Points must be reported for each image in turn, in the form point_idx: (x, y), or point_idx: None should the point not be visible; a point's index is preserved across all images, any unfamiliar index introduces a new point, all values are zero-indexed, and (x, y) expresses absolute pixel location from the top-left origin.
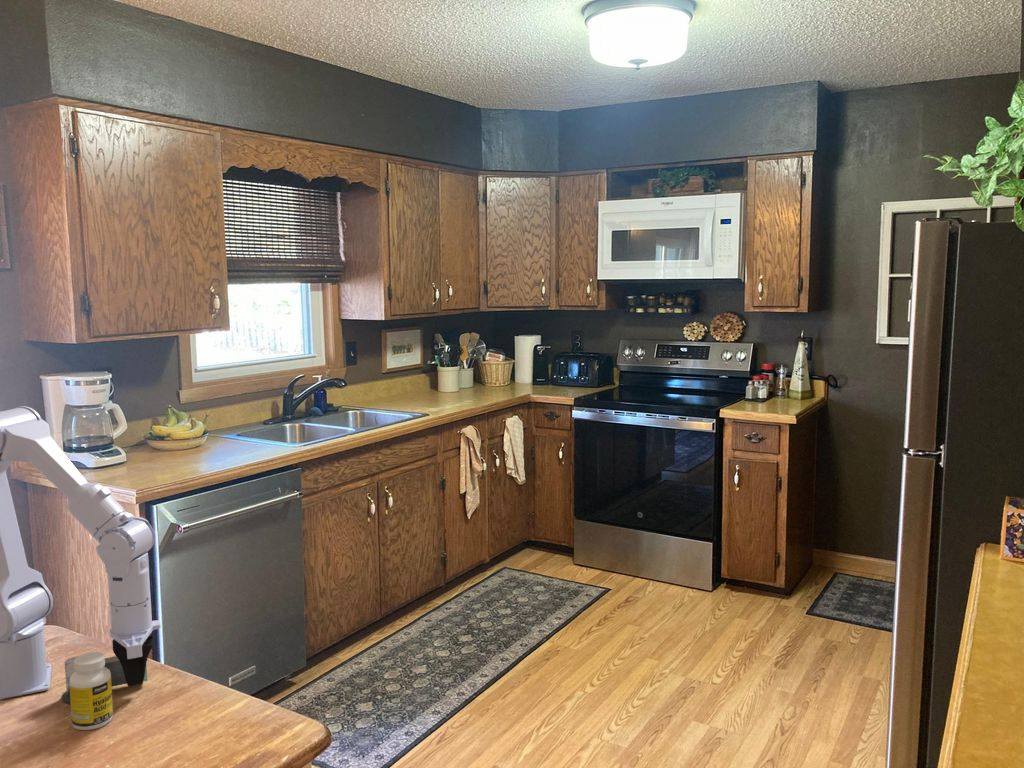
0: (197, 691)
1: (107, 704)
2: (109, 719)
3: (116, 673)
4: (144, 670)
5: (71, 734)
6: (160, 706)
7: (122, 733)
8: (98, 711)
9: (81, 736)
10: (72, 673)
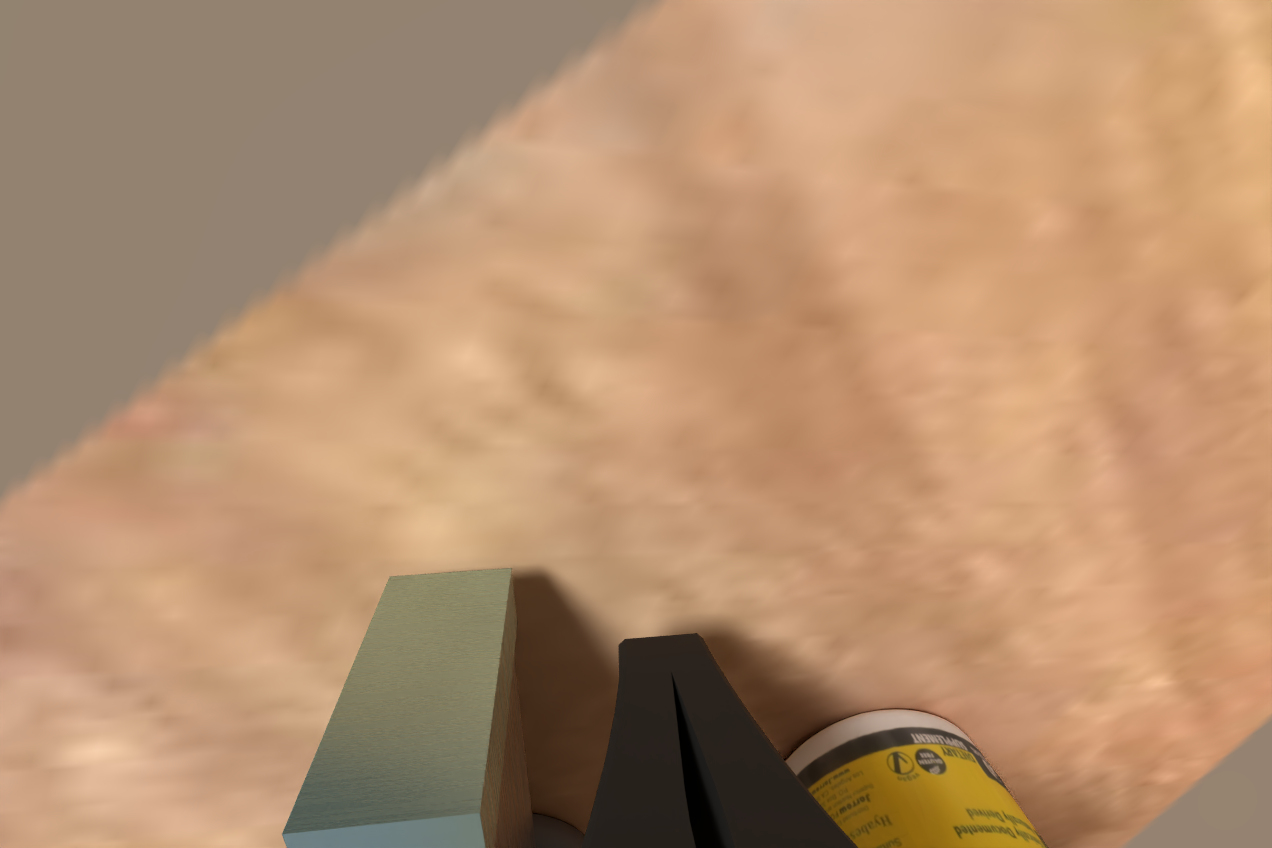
0: (844, 120)
1: (1039, 844)
2: (959, 731)
3: None
4: (762, 735)
5: None
6: (924, 450)
7: (1109, 646)
8: None
9: None
10: None
